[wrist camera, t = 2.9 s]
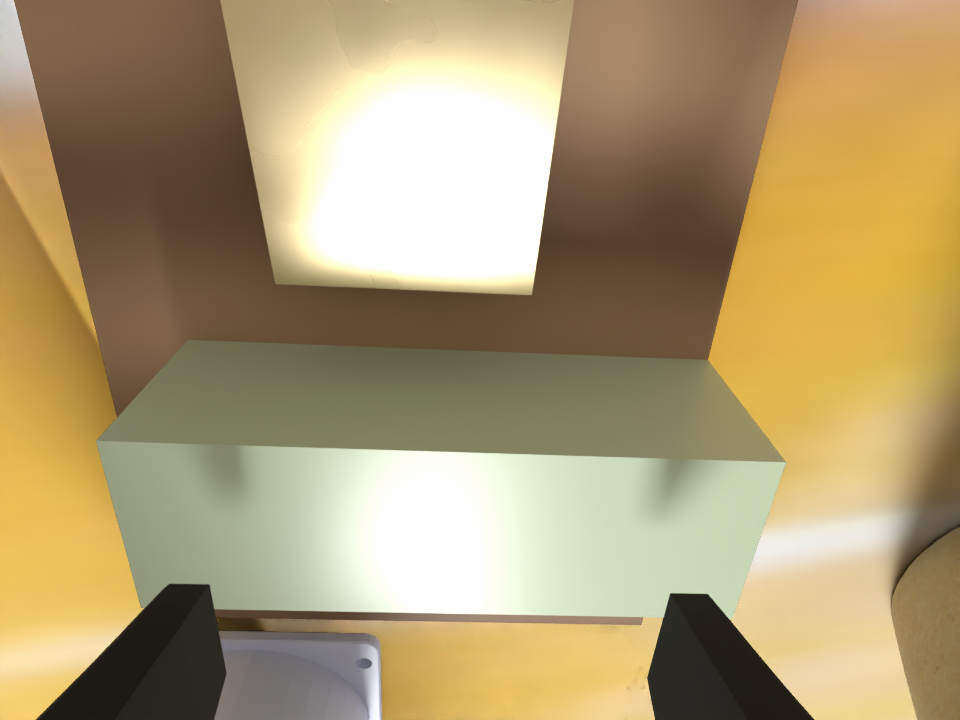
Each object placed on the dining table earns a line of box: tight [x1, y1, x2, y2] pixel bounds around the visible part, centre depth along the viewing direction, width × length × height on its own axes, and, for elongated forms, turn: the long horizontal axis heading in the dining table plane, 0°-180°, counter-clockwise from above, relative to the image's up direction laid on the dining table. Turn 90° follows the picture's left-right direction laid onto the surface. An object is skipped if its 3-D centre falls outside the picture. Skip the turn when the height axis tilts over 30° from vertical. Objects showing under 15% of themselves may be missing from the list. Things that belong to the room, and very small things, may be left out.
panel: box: [14, 0, 798, 625], centre depth 13 cm, size 24×14×4 cm, turn 177°
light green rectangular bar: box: [96, 340, 786, 619], centre depth 14 cm, size 4×12×4 cm, turn 87°
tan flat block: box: [220, 0, 574, 295], centre depth 11 cm, size 6×5×1 cm
